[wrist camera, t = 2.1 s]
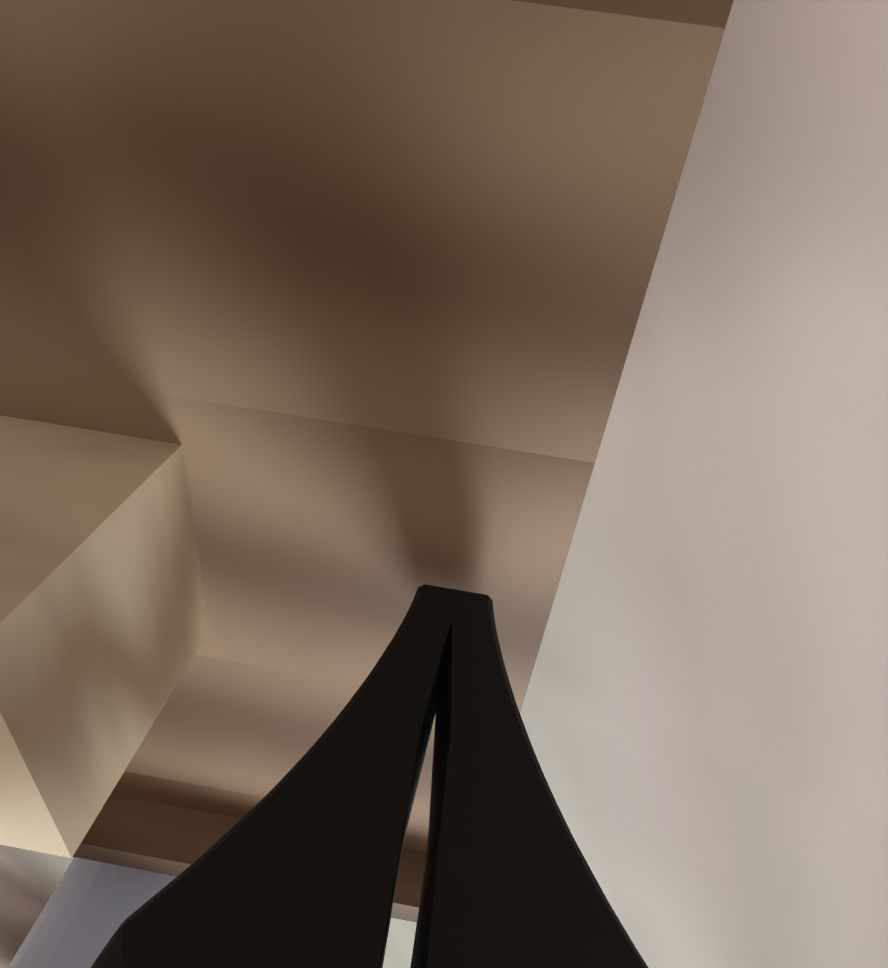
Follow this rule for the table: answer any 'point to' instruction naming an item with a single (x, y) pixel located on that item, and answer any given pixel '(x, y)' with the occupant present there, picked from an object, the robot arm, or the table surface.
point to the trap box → (335, 323)
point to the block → (87, 617)
